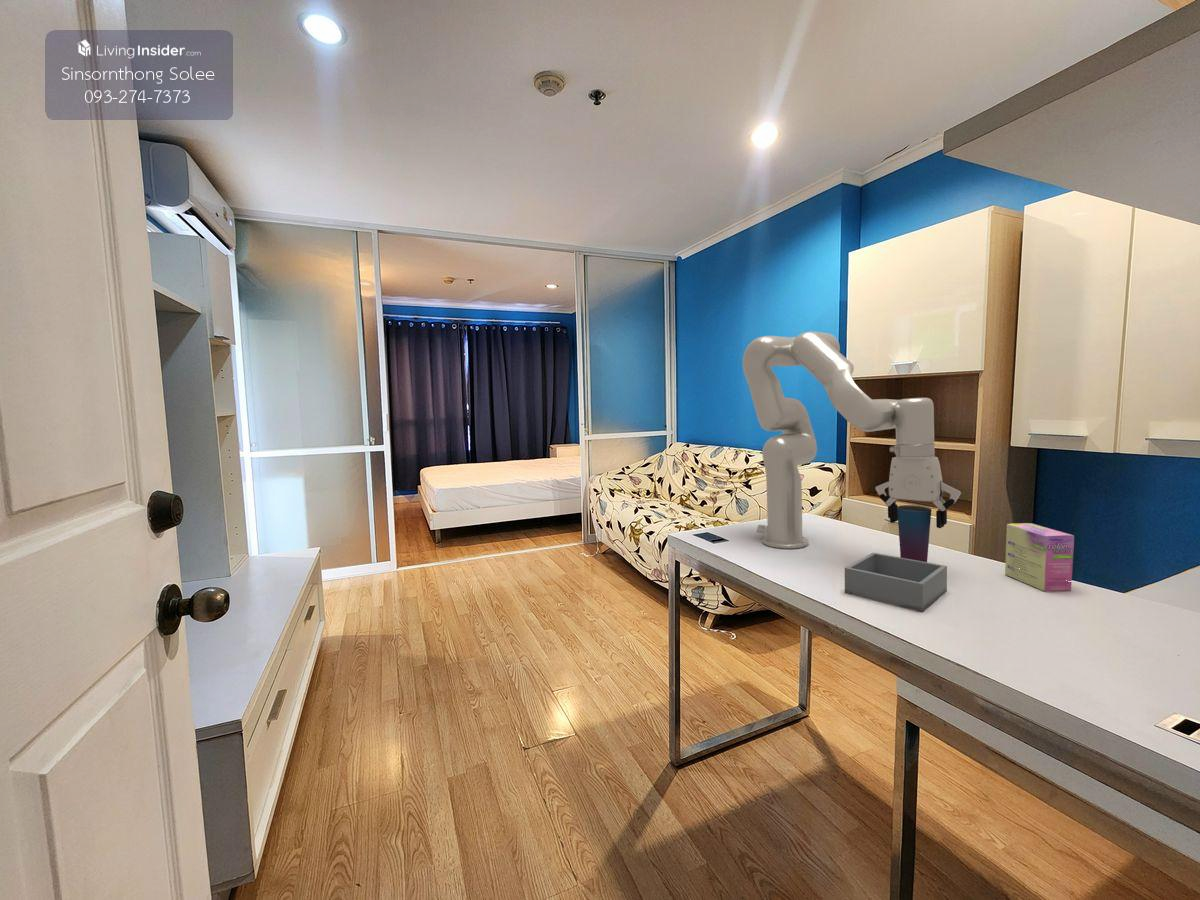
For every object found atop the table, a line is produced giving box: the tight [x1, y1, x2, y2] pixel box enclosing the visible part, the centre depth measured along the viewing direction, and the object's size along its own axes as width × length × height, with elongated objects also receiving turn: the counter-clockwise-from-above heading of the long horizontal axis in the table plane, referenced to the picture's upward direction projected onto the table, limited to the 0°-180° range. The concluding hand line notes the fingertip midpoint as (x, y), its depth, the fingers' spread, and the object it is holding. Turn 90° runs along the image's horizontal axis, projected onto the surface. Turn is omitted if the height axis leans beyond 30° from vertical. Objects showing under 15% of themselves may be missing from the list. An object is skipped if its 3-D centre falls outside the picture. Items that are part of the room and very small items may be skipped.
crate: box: [844, 552, 948, 613], centre depth 106 cm, size 15×15×6 cm
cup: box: [897, 504, 933, 562], centre depth 118 cm, size 7×7×15 cm
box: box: [1004, 522, 1075, 592], centre depth 107 cm, size 10×6×12 cm, turn 179°
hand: (916, 524), depth 117 cm, fingers open, 9 cm apart
